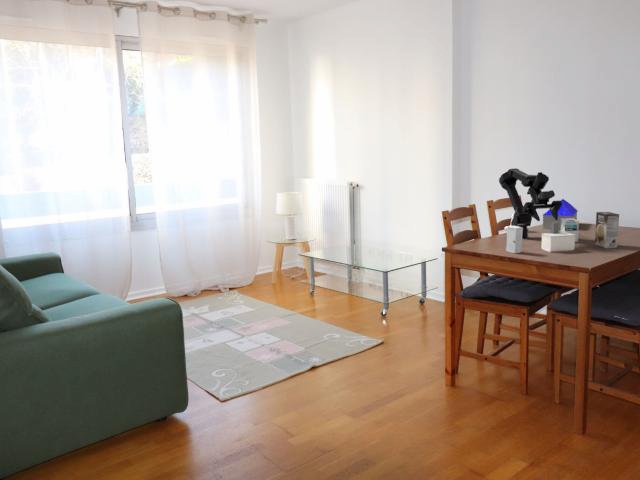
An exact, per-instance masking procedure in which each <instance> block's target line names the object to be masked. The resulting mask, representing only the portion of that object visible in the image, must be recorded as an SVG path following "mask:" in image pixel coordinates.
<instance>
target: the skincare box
mask: <svg viewBox="0 0 640 480" xmlns="http://www.w3.org/2000/svg"><path fill="white" fill-rule="evenodd" d="M507 226H508V227H507ZM507 226H506V227H507V232H506V248H505V251H506V252H508V253H512V254H519V253H522V249H523V247H522V245H523V238H522V234H523V227H519V226H510V225H507Z"/></svg>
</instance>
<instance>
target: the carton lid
mask: <svg viewBox="0 0 640 480" xmlns="http://www.w3.org/2000/svg"><path fill="white" fill-rule="evenodd" d="M559 230H560V229H559V223H557V222H555V223H552V224H551V229H550V232H548V233H547V232H546V233H545V232H544V233H541V236H542V235H545V236H548V237H563V236H576V235H574V234H570V233H567V232H561V231H560V232H559Z"/></svg>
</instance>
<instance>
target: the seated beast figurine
mask: <svg viewBox="0 0 640 480" xmlns="http://www.w3.org/2000/svg"><path fill="white" fill-rule="evenodd" d="M514 213H515V211H514V210H513V213H512V215H511V220H510V222H511V221H512V220H513V218H514V217H513V216H514ZM508 226H511V223H510V225H507V226H505V227H504V231H507V227H508Z"/></svg>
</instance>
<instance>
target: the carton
mask: <svg viewBox="0 0 640 480" xmlns="http://www.w3.org/2000/svg"><path fill="white" fill-rule="evenodd" d="M575 244H576V242H575V236H563V237H548V236H545V235H541V247H540V248H541V250H543V251H546V252H548V253H556V252H557V253H559V252H560V253H561V252H573V251H575V246H576V245H575Z"/></svg>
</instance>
